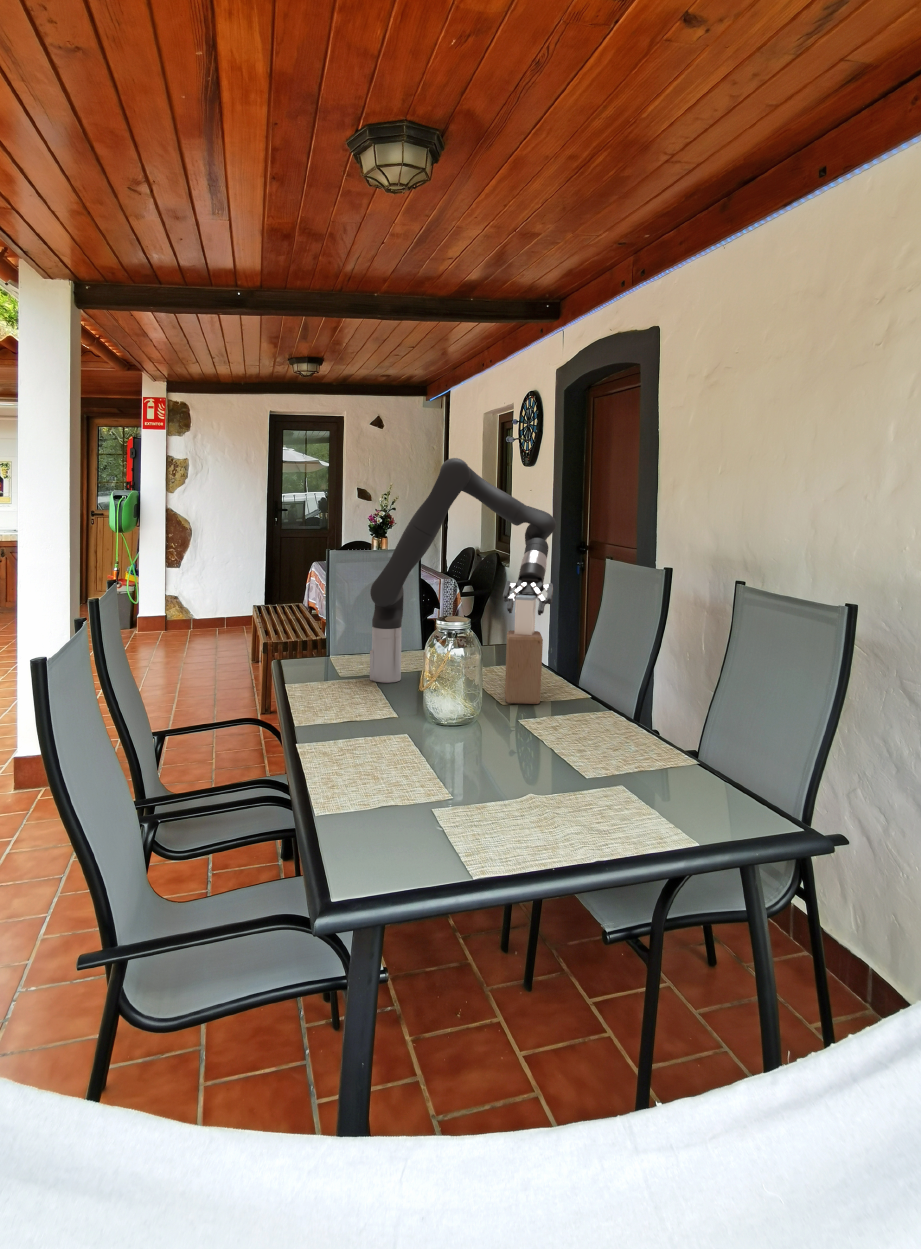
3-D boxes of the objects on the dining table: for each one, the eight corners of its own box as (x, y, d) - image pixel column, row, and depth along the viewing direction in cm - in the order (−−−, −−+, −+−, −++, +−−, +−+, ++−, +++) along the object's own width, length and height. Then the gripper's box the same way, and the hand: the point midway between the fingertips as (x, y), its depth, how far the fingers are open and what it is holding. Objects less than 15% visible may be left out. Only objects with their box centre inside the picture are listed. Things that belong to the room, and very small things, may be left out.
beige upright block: (514, 634, 234) (515, 596, 232) (517, 631, 239) (519, 594, 237) (531, 635, 233) (533, 597, 231) (534, 632, 238) (535, 595, 236)
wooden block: (540, 705, 234) (543, 636, 231) (505, 704, 234) (507, 635, 231) (538, 696, 244) (540, 630, 241) (504, 695, 244) (506, 629, 241)
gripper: (508, 560, 241) (498, 603, 232) (555, 562, 238) (548, 606, 229) (511, 576, 247) (501, 618, 238) (557, 578, 244) (550, 622, 235)
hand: (524, 612), depth 233 cm, fingers open, 8 cm apart
